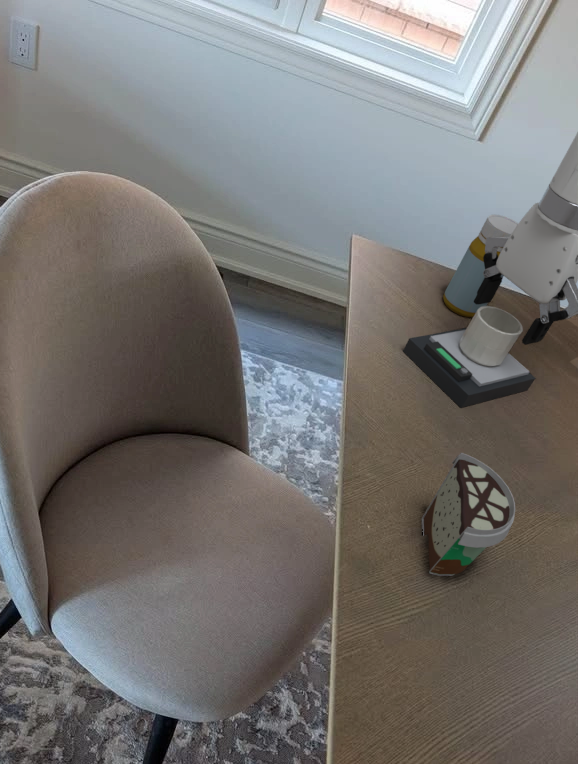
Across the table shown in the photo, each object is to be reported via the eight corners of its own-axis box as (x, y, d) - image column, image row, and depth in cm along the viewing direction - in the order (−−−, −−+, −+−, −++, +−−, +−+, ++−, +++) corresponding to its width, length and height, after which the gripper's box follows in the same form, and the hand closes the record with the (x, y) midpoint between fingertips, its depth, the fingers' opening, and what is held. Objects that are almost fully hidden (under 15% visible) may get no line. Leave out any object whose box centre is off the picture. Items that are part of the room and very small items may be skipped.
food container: (477, 607, 80) (527, 549, 73) (423, 590, 80) (467, 531, 73) (470, 524, 89) (514, 465, 82) (421, 509, 89) (460, 449, 82)
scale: (469, 338, 119) (480, 318, 117) (527, 390, 113) (540, 371, 110) (402, 351, 112) (412, 330, 109) (460, 408, 105) (473, 388, 103)
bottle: (455, 290, 129) (499, 210, 119) (488, 313, 127) (536, 232, 116) (433, 299, 125) (477, 216, 115) (466, 323, 123) (514, 240, 112)
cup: (479, 336, 114) (499, 303, 110) (510, 364, 111) (532, 331, 107) (448, 342, 111) (468, 308, 107) (480, 371, 107) (501, 337, 103)
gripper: (641, 242, 92) (566, 354, 104) (538, 175, 101) (480, 285, 113) (605, 248, 88) (532, 363, 100) (502, 177, 97) (446, 291, 109)
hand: (504, 321), depth 107 cm, fingers open, 9 cm apart
